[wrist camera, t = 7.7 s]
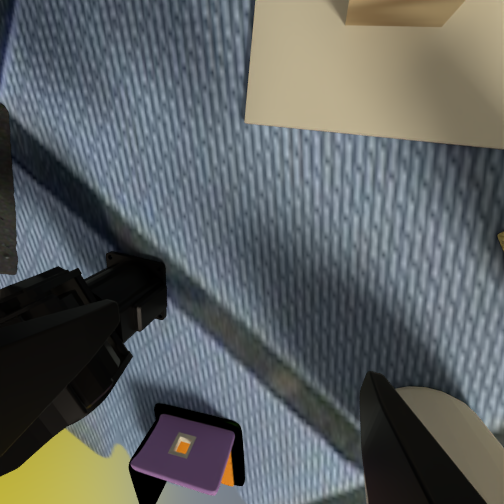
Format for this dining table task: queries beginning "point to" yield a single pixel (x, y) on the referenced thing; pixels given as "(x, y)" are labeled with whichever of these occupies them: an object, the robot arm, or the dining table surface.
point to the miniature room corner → (187, 453)
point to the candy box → (501, 239)
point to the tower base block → (401, 12)
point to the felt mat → (379, 73)
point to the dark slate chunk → (7, 200)
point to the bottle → (460, 439)
